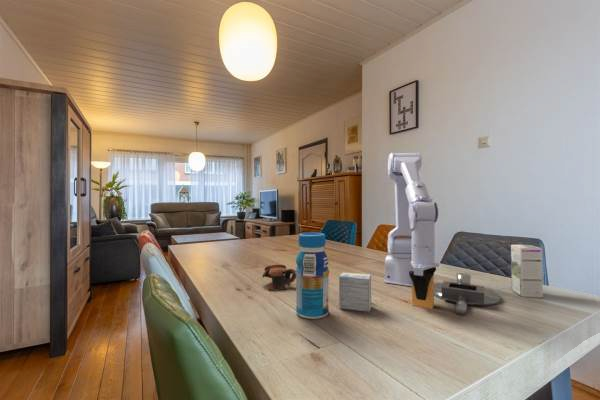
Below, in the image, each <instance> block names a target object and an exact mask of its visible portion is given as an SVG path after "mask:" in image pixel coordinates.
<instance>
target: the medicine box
mask: <svg viewBox="0 0 600 400" xmlns="http://www.w3.org/2000/svg"><path fill="white" fill-rule="evenodd" d="M338 280H339V281H338V283H339V284H338V286H339V287H338V289H339V290H338V297H339V298H338V300H339V301H338V303H339V305H338V307H339V309H340V310H350V311H360V312H365V313H369V312H371V309H372V276H371V274H369V273H367V274H366V273H356V272H342V273H341V274H340V275H339V277H338Z"/></svg>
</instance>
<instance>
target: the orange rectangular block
mask: <svg viewBox="0 0 600 400" xmlns="http://www.w3.org/2000/svg"><path fill="white" fill-rule="evenodd" d="M434 284H435V276H434V275H433V276H432V278H431V280H430V282H429V286H428V292H427V297H426V300H419V299H417V297H416V293H415V288H414V285H413V282H412V286H411V294H412V295H411V298H412V299H411V301H412V302H411V305H412V306H415V307H420V308H425V309H430V310H431V309H432V310H433V308H434V306H435V296H434Z"/></svg>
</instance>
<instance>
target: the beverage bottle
mask: <svg viewBox="0 0 600 400" xmlns="http://www.w3.org/2000/svg"><path fill="white" fill-rule="evenodd" d="M298 246H299V248H300V250H299V251H298V253H297V256H296V259H295V263H296V265H297V266H296V267H295V273H296V279H295V288H296V289H295V293H296V295H295V296H296V297H295V298H296V299H295V300H296V308H295V311H296V314H297V315H298V316H299V317H301V318H303V319H309V320H319V319H322V318H324V317H326V316H327V315H328V314H329V309H330V307H329V275H330V269H329V267H328V264H329V257H328V255H327V253H326V251H325V250H324V248H326V234H325V233H322V232H302V233H299V234H298Z"/></svg>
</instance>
